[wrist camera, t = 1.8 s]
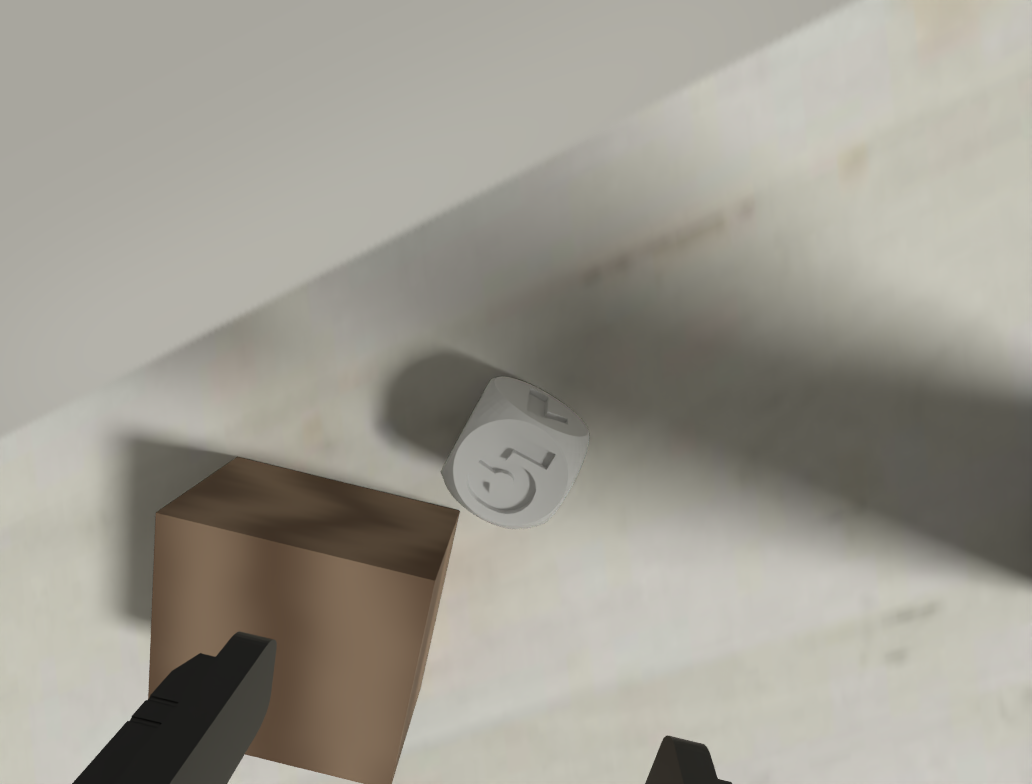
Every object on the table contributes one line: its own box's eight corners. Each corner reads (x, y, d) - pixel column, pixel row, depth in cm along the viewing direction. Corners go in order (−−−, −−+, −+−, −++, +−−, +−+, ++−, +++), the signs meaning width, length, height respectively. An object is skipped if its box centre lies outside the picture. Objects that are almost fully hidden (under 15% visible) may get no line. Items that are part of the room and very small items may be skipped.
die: (588, 414, 26) (594, 453, 22) (538, 494, 28) (534, 548, 23) (498, 365, 26) (484, 393, 21) (452, 448, 27) (429, 493, 23)
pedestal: (460, 510, 28) (435, 580, 22) (420, 689, 32) (389, 790, 26) (237, 456, 28) (155, 512, 23) (221, 640, 32) (146, 730, 26)
